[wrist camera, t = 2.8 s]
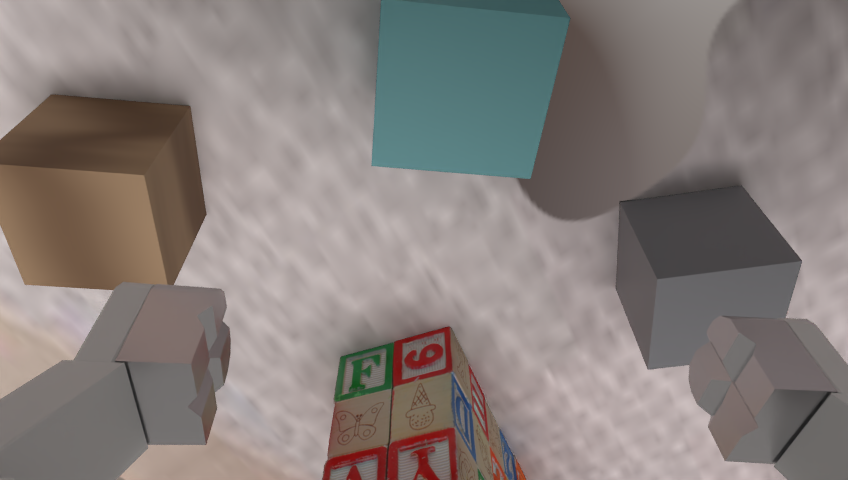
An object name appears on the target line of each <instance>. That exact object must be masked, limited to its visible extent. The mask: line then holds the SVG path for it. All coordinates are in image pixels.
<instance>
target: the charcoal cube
mask: <svg viewBox="0 0 848 480" xmlns="http://www.w3.org/2000/svg"><path fill="white" fill-rule="evenodd" d="M619 206H620V211H619V232H618V252H617V273H616V290H617V293H618V295H619V298H620V300H621V303H622V305H623V308H624V311H625V313H626V316H627V318H628V321H629V323H630V326H631V328H632V331H633V333H634V336H635V338H636V341H637V343H638V346H639V348H640V351H641V353H642V356H643V359H644V361H645V364H646V366H647V369H657V368H666V367H675V366H684V365H690V362H691V360H692V358H693V356H694V354H695V352H696V350H697V349H699V348H701V347H702V346H704V345H705V344H707V343H708V342H710V341H709V338H708V336H707V333H706V331H707V330H708V328H709V326H710V324H711V323H712V321H713V320H715V319H716V318H717V317H719V316H738V317H759V318H774V319H776V318H786V314H787V311H788V307H789V304H790V301H791V297H792V294H793V290H794V287H795V284H796V280H797V277H798V274H799V270H800V267H801V263H802V260H801V259H800V258H799V256H798V255H797V254H796V253H795V251H794V250H793V249H792V248H791V246H790V245H789V244H788V243H787V241H786V240H785V239H784V238H783V236H782V235H781V234H780V233H779V232H778V230H777V229H776V228H775V227H774V225H773V224H772V223H771V222H770V220H769V219H768V218H767V217H766V215H765V214H764V213H763V212H762V210H761V209H760V208H759V207H758V205H757V204H756V203H755V202H754V200H753V199H752V198H751V197H750V195H749V194H748V193H747V192H746V190H745V189H744V188H743V187H742V186H735V187H728V188H720V189H713V190H706V191H698V192H691V193H684V194H676V195H669V196H662V197H655V198H647V199H640V200H633V201H630V200H625V201H620V202H619Z"/></svg>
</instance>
